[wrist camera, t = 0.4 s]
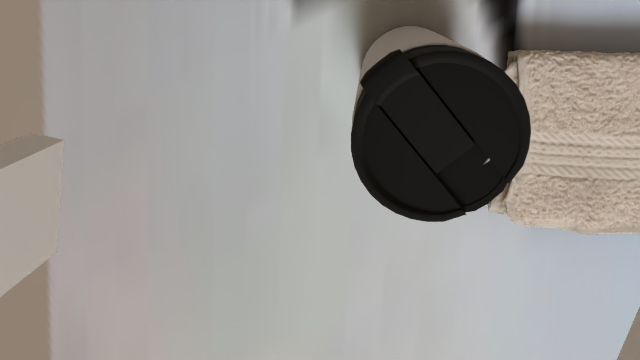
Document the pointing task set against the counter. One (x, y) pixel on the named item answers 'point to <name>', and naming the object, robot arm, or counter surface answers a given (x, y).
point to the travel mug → (435, 126)
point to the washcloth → (577, 142)
